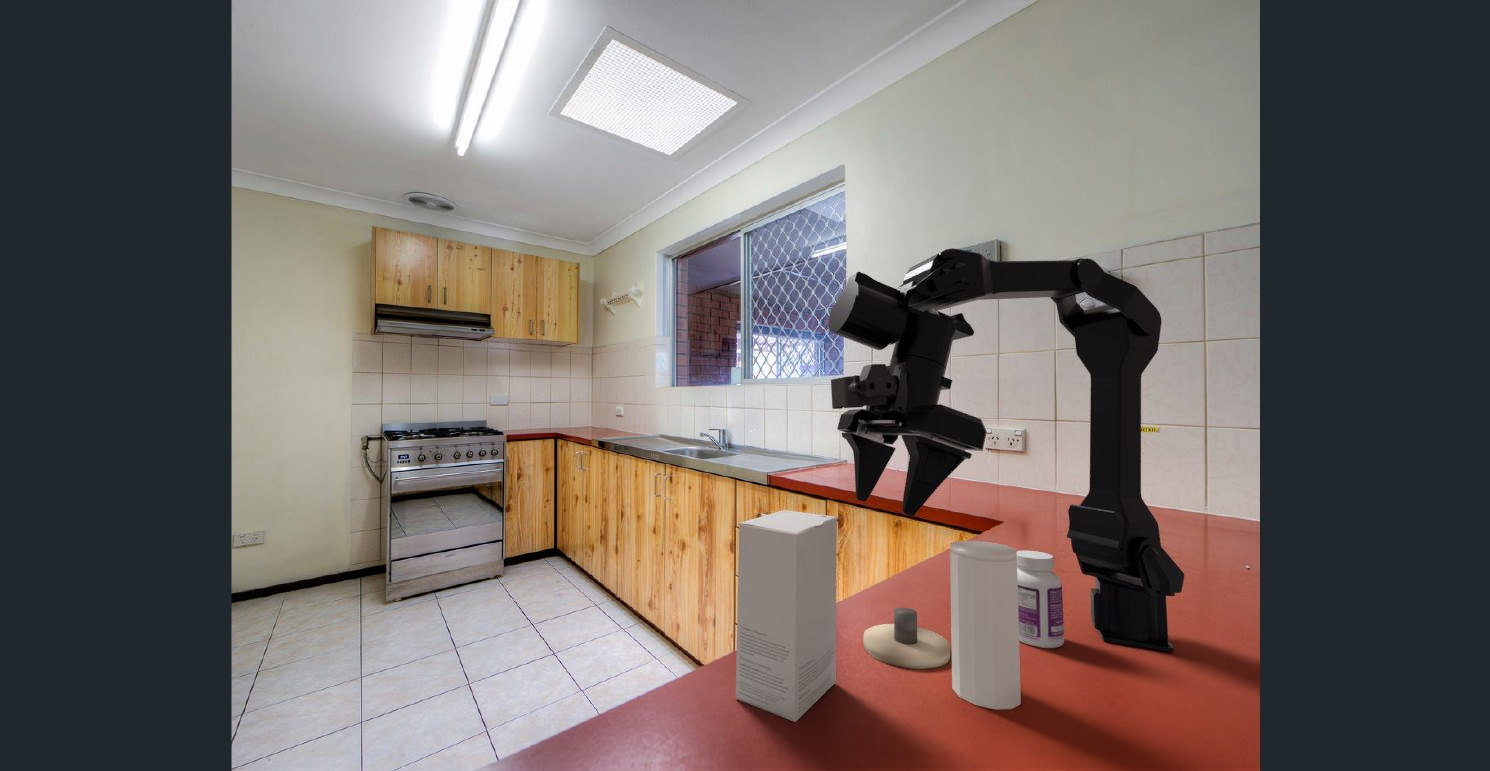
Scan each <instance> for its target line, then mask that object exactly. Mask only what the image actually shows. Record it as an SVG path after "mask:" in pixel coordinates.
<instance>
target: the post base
mask: <svg viewBox="0 0 1490 771" xmlns="http://www.w3.org/2000/svg"><path fill="white" fill-rule="evenodd" d="M893 615H894V617H893V622H894V623H885V624H877V625H874V626H870V627H869V628H867V629H866V630H865V631H864V632H863V648H864V650H865V652H866V653H867V654H868V655H870V656H871V657H873V658H874V659H876V660H879V661H881V662H883V663H886V664H889V665H893V666H895V667H896V666H897V667H900V668H905V669H916V670H918V669H919V670H920V669H921V670H925V669H926V670H927V669H928V670H929V669H935V668H939V667H942V666H945V665H946V664H948V663H949V661H950V660H951V644H950V642H949V641H948V640H947V639H946V638H945V637H944V636H942V635H941V634H938V633H937V632H934V631H932V630H929V629H927V628H924V627H921V626H918V612H917V611H916V610H915V609H912V608H909V607H896V608H894V610H893Z"/></svg>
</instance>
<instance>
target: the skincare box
mask: <svg viewBox="0 0 1490 771" xmlns="http://www.w3.org/2000/svg"><path fill="white" fill-rule="evenodd" d="M837 528H838V517H837V516H833V515H825V514H819V513H818V514H817V513H809V512H803V511H802V512H801V511H794V510H787V509H783V510H778V511H776V512H772V513H770V514H767V515H763V516H759V517H755V518H752V519H748V520H744V521H741V522H738V559H737V560H738V566H737V569H738V570H737V571H738V572H737V607H736V608H737V613H736V614H737V617H736V618H737V619H736V620H737V621H736V663H735V664H736V665H735V672H736V673H735V699H736V700H738V701H740V702H743V703H746V704H749V705H751V706H753V707H756V708H757V709H761V710H764V711H765V712H768V713H771V714H772V715H776V716H779V717H782V718H783V719H786V720H789V721H791V722H793V723H796V722H798V720H799V719H800V718H801V717H803V715H804V714H805V713H806V712H807V711H808V710H809V709H811V708H812V707H813V705H814V704H816V702H817V701H819V700H820V699H821V697H822V696H824V695H825V693H827V692H828V691H829V690H830V689H831V688H832V687H833V686H834V685H835V684H836V682H837V679H836V678H837V675H836V674H837V672H836V670H837V669H836V668H837V666H836V664H837V661H836V660H837V654H836V653H837V650H836V649H837V644H836V643H837V640H836V639H837V636H836V635H837V545H838V544H837V539H838V536H837V535H838V533H837V531H838V530H837Z"/></svg>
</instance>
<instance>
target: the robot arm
mask: <svg viewBox="0 0 1490 771" xmlns="http://www.w3.org/2000/svg"><path fill="white" fill-rule="evenodd" d="M1083 293H1085V294H1086V295H1088V297H1090V298H1092V299H1094V300H1097V301H1098V302H1101V303H1103V304H1102V305H1098V306H1095V307H1089V308H1087V309H1084V308H1082V306H1081V305H1080V304H1079V303H1078V302H1077V297H1076V296H1077V295H1080V294H1083ZM1031 298H1032V299H1033V298H1034V299H1035V298H1036V299H1039V298H1050V299H1051V300H1052V301H1053V302H1054V304H1056V310H1057V314H1058V316H1057V317H1058V320H1059V323H1060V324H1061V325H1062V326H1063V328H1065V329H1066V330H1067V331H1068V332H1069V333H1070V334H1071V335H1072V337H1074V343H1075V344H1074V346H1075V352H1076V356H1077V357H1078V359H1079V360H1080V362H1081V364H1083V366H1084V368H1085V369H1086V370H1087V372H1088V373H1089V376H1090V400H1089V402H1090V403H1089V404H1090V405H1089V408H1090V411H1089V412H1090V414H1089V420H1090V421H1089V422H1090V423H1089V425H1090V426H1089V488H1088V493H1087V494H1086V495H1085V497H1084V498H1083V500H1082V501H1081V503H1080V504H1079V505H1077V504H1073V503H1072V504H1070V505H1069V508H1068V519H1069V520H1068V522H1069V523H1068V524H1069V525H1068V531H1067V534H1066V538H1067V539H1070V544H1071V549H1072V552H1073V553H1074V554H1075V556H1076V559H1077V561H1078V562H1077V563H1078V565H1079V569H1080V571H1081V574H1082V575H1085V576H1091V577H1094V578H1095V580H1094V581H1095V588H1094V587H1092V588H1090V590H1089V592H1090V594H1089V595H1090V596H1089V597H1090V618H1091V620H1090V621H1091V623H1092V626H1093V627H1094V629H1095V630H1097V632H1098V633H1099V635H1100V638H1101V639H1102V640H1103V641H1106V642H1110V643H1116V644H1123V645H1127V646H1128V645H1129V646H1134V647H1139V648H1147V649H1153V650H1159V651H1165V652H1172V653H1173V652H1174V650H1175V648H1174V646H1173V644H1172V643H1171V642H1170V641H1169V634H1168V633H1169V628H1168V610H1167V597H1175V596H1176V594H1179V593H1182V591H1183V585H1184V580H1185V573H1184V572H1183V571H1182V569H1181V568H1180V567H1179V566H1178V565H1177V564H1176V562H1175V561H1174V560H1173V559H1172V558H1171V556H1170V555H1169V554H1168V553H1167V551H1166V550H1165V549H1164V548H1163V547H1162V542H1161V536H1160V527H1159V523H1158V521H1157V519H1156V518H1155V516H1154V515H1153V513H1152V512H1151V510H1150V509H1149V508H1148V506H1147V504H1146V502H1145V501H1144V499H1143V498H1142V375H1143V373H1144V371H1145V370H1146V368H1147V367H1148V366H1149V364H1150V363H1151V361H1152V360H1153V358H1154V357H1155V356H1156V354H1157V353H1158V351H1159V342H1160V336H1161V328H1162V316H1161V313H1160V311H1159V309H1158V308H1157V307H1156V306H1155V305H1154V304H1153V303H1152V302H1151V301H1150V299H1149V298H1148V297H1146V295H1145V294H1144V293H1143V292H1142V291H1141V290H1140V288H1139V287H1137V286H1136V285H1135V284H1132V283H1130V282H1127V281H1126V280H1123V279H1121V278H1119V277H1117V276H1115V275H1111V274H1110V273H1107V272H1106V271H1105V270H1104V269H1103V268H1102V267H1101V266H1100V265H1099V263H1097V262H1096V261H1095V260H1093V259H1092V258H1083V257H1080V258H1077V259H1071V260H1068V259H1067V260H1066V259H1065V260H1064V259H1063V260H1057V259H1056V260H991V259H989V258H987V257H985V256H984V255H983V254H982V253H980V252H976V251H971V250H965V249H961V248H947V249H944V250H943V251H941V252H939V253H937V254H934V255H932V256H931V257H929V258H927V259H924V260H923V261H921V262H919V263H917V264H914V265H913V266H912V267H909V269H908V270H907V271H906V273H905V275H904V277H903V280H902V284H900V285H899V286H898V287H897V288H895V287H893V286H890V285H887V284H885V283H883V282H882V281H881V282H880V281H878V280H875V279H874V278H873V277H871V276H870V275H868V274H866V273H865V272H864V273H863V272H861V271H857V272H856V273H855V272H854V274H852V275H850V276H848V279H847V283H846V286H845V287H844V288H843V289H842V291H841V293H840V294H839V296H838V297H837V299H836V302H835V303H834V305H833V306H831V309H830V312H829V318H828V331H829V332H830V333H831V334H835V335H837V336H839V337H842V338H845V339H848V340H851V341H853V342H856V343H857V344H860V345H864V346H866V347H868V348H870V349H874V350H876V351H882V350H883V349H886V348H887V347H888V346H889V345H890V346H891V345H894V347H893V350H892V355H891V359H890V362H889V365H886V364H885V363H873V364H867V365H864V366H863V367H862V369H861V371H860V374H859V375H856V374H855V375H851V376H850V375H848V376H842V377H837V378H833V379H830V390H831V392H830V393H831V405H832V408H831V409H832V410H839V409H841V410H842V409H843V408H844V409H848V410H847V411H845V412H843V413H842V414H840V417H839V421H838V424H837V428H836V429H837V431H839V432H841V437H842V438H843V439H845V441H846V442H847V443H848V444H849V446H850V448H851V449H852V452H853V462H854V481H855V482H854V483H855V484H854V485H855V487H854V488H855V498H856V500H857V501H860V502H863V503H864V502H865V503H866V501H867V500H868V499H869V497H870V496H871V494H872V492H874V489H875V487H876V485H877V484H878V482H879V480H880V478H881V476H882V474H883V472H885V469H886V467H887V465H889V462H890V461H891V459H892V456H894V455H893V454H894V453H895V451H896V447H894V446H893V445H894V443H896V441H897V440H898V438H899V436H901V438H902V441H903V443H904V446H905V448H906V450H907V451H906V452H907V453H908V456H909V457H908V458H909V459H908V463H907V464H908V466H907V471H906V477H905V483H904V485H905V486H904V490H903V495H902V496H903V497H902V507H901V508H902V509H901V510H902V514H903V515H907V516H910V517H914V516H915V515H916V514H917V513H918V511H919V510H920V509H921V508H922V507H923V505H924V504H925V503H926V502H927V501H928V500H929V498H930V497H931V496H932V495H933V494H934V493H935V491H936V490H937V489H938V488H939V487H940V486H941V485H942V484H943V483H944V481H946V479H947V478H948V477H949V476H950V475H951V474H953V472H954V471H955V470H956V469H957V468H958V467H959V466H960V465H961V464H962V462H964V461H965V460H970V459H971V458H972V455H973V454H972V453H971V452H969V451H974V452H975V451H978V452H983V450H984V446H985V442H986V439H987V433H988V430H987V429H986V426H985V425H984V422H983V420H982V418H979V417H976V416H974V415H971V414H969V413H966V412H963V411H960V410H957V409H955V408H952V407H949V406H947V405H944V404H941V403H939V400H940V395H941V392H942V391H946V390H951V387H952V383H953V379H950V378H947V377H945V374H946V370H947V367H948V366H947V365H948V363H949V358H950V355H951V350H952V346H953V342H954V341H957V340H960V339H964V338H969V337H972V336H974V335H975V330H974V328H973V327H972V325H971V324H970V323H969V322H968V321H967V320H966V318H965V315H964V313H962V312H960V313H956V314H953V315H949V314H946V313H943V312H941V311H942V310H946V309H949V308H953V307H956V306H960V305H964V304H967V303H971V302H974V301H975V302H976V301H980V300H981V301H982V300H983V301H985V300H1005V299H1006V300H1007V299H1009V300H1010V299H1031ZM864 407H865V409H864ZM854 408H855V409H854ZM891 445H892V446H891Z"/></svg>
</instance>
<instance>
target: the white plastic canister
mask: <svg viewBox="0 0 1490 771" xmlns="http://www.w3.org/2000/svg"><path fill="white" fill-rule="evenodd" d="M1017 551H1018V550H1016V549H1015V548H1013V547H1011V546H1009V545H1005V544H1001V543H995V542H989V541H982V540H981V541H979V540H957V541H953V542H951V543H950V551H949V570H950V574H949V575H950V579H949V580H950V628H951V630H950V631H951V633H950V635H951V644H950V645H951V685H952V686H951V688H952V691H953V692H954V693H956V695H957V696H958V697H959V698H960V699H962V700H965V701H967V702H968V703H970V704H972V705H975V706H979V707H982V708H986V709H992V710H1013V709H1014V708H1017V707H1018V706H1020V705H1021V704H1022V703H1021V702H1022V701H1021V668H1020V667H1021V666H1020V665H1021V664H1020V662H1021V661H1020V658H1021V657H1020V641H1019V618H1018V580H1017V568H1018V566H1017Z"/></svg>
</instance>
